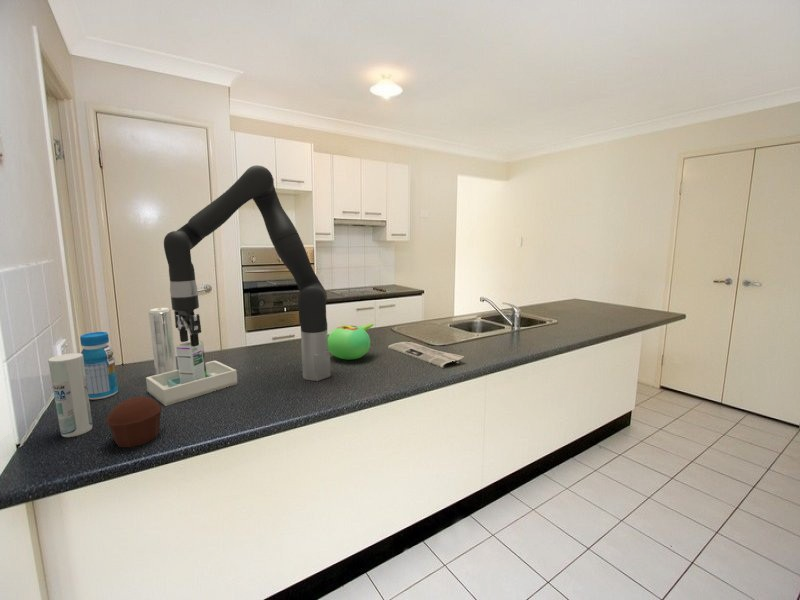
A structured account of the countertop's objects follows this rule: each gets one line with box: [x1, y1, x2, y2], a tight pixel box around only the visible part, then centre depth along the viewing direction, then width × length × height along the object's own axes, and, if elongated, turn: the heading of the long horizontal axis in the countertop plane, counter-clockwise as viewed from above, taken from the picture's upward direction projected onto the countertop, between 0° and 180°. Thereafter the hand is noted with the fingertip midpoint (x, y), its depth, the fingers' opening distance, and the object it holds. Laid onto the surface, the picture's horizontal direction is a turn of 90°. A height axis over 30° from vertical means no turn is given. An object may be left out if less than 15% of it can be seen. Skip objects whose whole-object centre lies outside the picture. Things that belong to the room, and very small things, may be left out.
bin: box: [145, 360, 238, 407], centre depth 123 cm, size 16×22×5 cm
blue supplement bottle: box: [79, 331, 119, 401], centre depth 116 cm, size 8×8×20 cm
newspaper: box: [388, 341, 465, 369], centre depth 158 cm, size 35×12×4 cm, turn 40°
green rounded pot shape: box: [328, 323, 374, 361], centre depth 154 cm, size 18×17×15 cm
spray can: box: [47, 352, 93, 438], centre depth 94 cm, size 6×6×20 cm
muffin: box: [104, 396, 163, 448], centre depth 92 cm, size 12×11×10 cm
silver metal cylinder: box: [148, 307, 178, 375], centre depth 132 cm, size 6×6×25 cm
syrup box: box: [175, 340, 207, 385], centre depth 122 cm, size 6×6×14 cm
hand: (189, 343), depth 121 cm, fingers open, 8 cm apart
